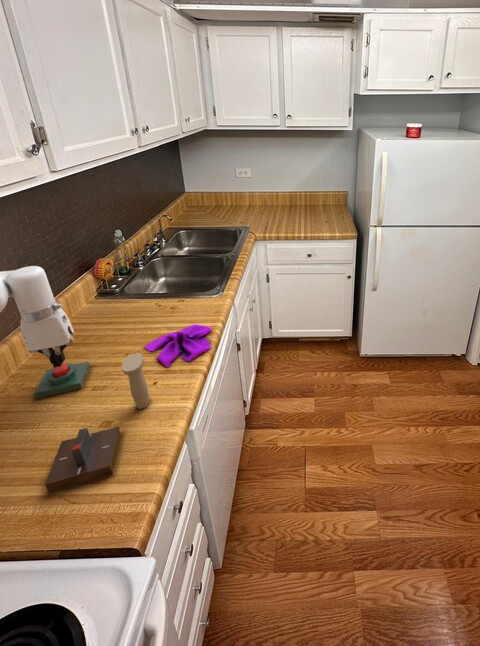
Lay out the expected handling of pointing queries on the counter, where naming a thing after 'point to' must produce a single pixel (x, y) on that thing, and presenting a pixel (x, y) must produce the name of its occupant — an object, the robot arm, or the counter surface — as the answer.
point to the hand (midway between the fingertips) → (59, 363)
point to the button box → (63, 381)
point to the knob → (81, 446)
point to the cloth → (181, 344)
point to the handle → (136, 379)
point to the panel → (95, 466)
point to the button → (60, 370)
